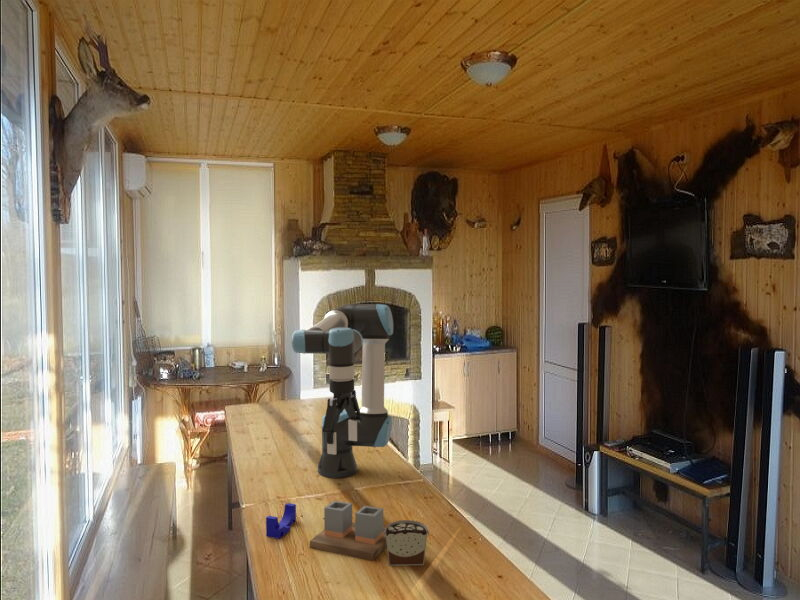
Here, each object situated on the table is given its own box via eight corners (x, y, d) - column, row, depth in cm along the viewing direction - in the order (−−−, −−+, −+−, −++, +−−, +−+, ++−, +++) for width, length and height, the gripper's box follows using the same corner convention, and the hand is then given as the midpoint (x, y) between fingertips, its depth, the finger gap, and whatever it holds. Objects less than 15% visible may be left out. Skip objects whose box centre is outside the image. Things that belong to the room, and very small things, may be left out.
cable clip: (279, 539, 176) (279, 519, 175) (266, 537, 177) (266, 517, 177) (300, 523, 187) (300, 504, 187) (287, 521, 189) (287, 503, 188)
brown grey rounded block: (427, 554, 166) (427, 518, 166) (429, 565, 160) (429, 528, 160) (383, 554, 166) (383, 519, 165) (383, 565, 160) (383, 529, 159)
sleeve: (334, 526, 180) (334, 500, 179) (352, 530, 177) (352, 503, 177) (324, 534, 174) (324, 507, 174) (342, 538, 172) (342, 510, 171)
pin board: (337, 525, 185) (336, 497, 185) (396, 536, 177) (396, 507, 177) (309, 547, 170) (309, 516, 170) (373, 560, 162) (373, 528, 162)
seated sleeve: (364, 532, 176) (364, 505, 175) (383, 535, 173) (383, 508, 173) (355, 540, 170) (355, 513, 170) (374, 544, 168) (374, 516, 167)
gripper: (349, 370, 195) (350, 434, 197) (309, 386, 172) (310, 458, 174) (370, 372, 192) (371, 436, 194) (332, 388, 169) (333, 461, 171)
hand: (342, 447), depth 184 cm, fingers open, 13 cm apart
